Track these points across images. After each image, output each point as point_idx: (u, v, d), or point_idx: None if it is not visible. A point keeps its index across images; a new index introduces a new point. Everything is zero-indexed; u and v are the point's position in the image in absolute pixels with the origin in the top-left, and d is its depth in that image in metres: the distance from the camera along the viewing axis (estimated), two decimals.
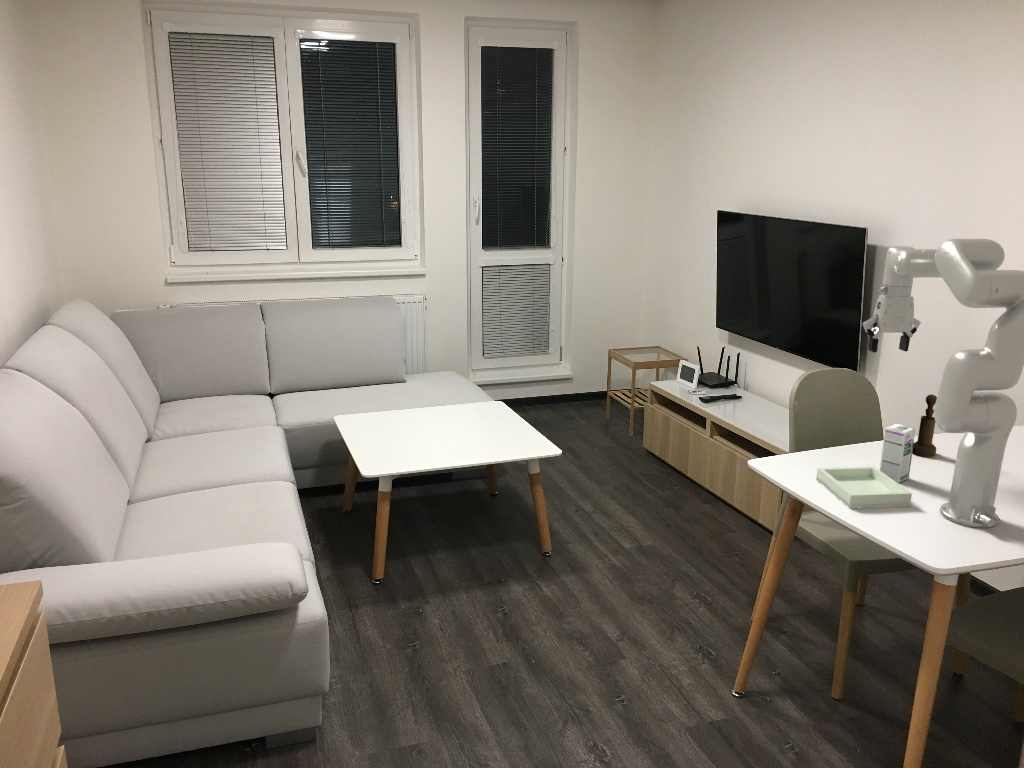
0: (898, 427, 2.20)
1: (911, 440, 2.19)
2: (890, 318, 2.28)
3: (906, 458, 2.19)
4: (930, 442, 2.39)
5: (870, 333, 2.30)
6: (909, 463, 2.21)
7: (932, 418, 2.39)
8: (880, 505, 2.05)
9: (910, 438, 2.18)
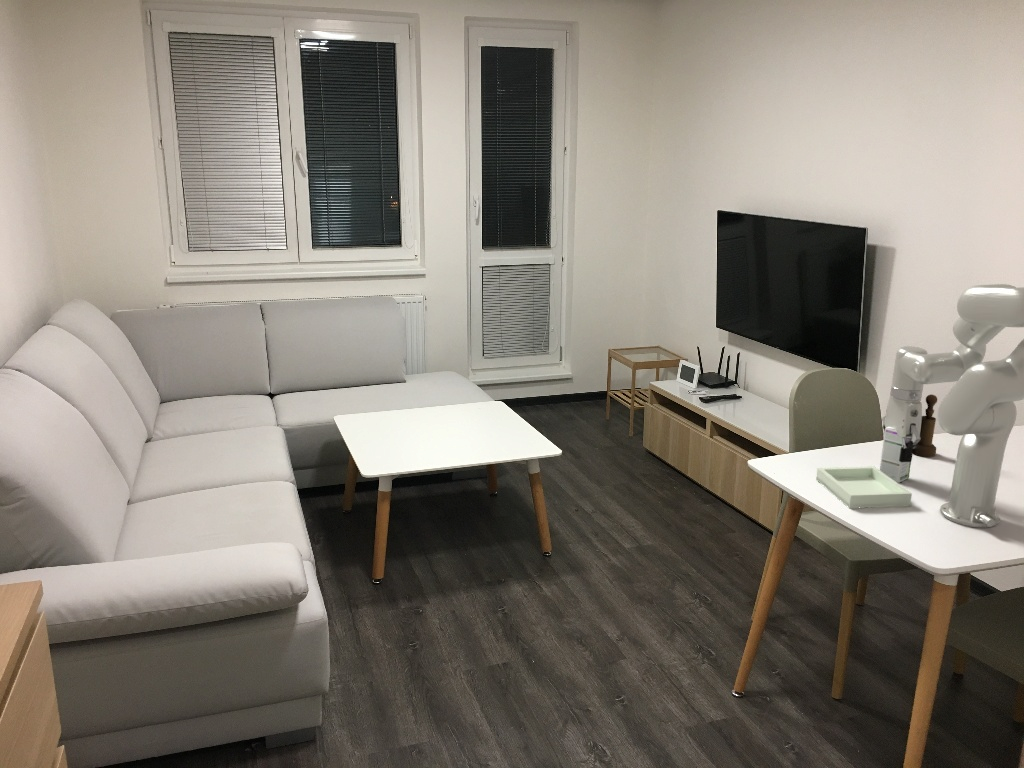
0: None
1: None
2: None
3: None
4: (930, 442, 2.39)
5: None
6: (909, 463, 2.21)
7: (932, 418, 2.39)
8: (880, 505, 2.05)
9: None
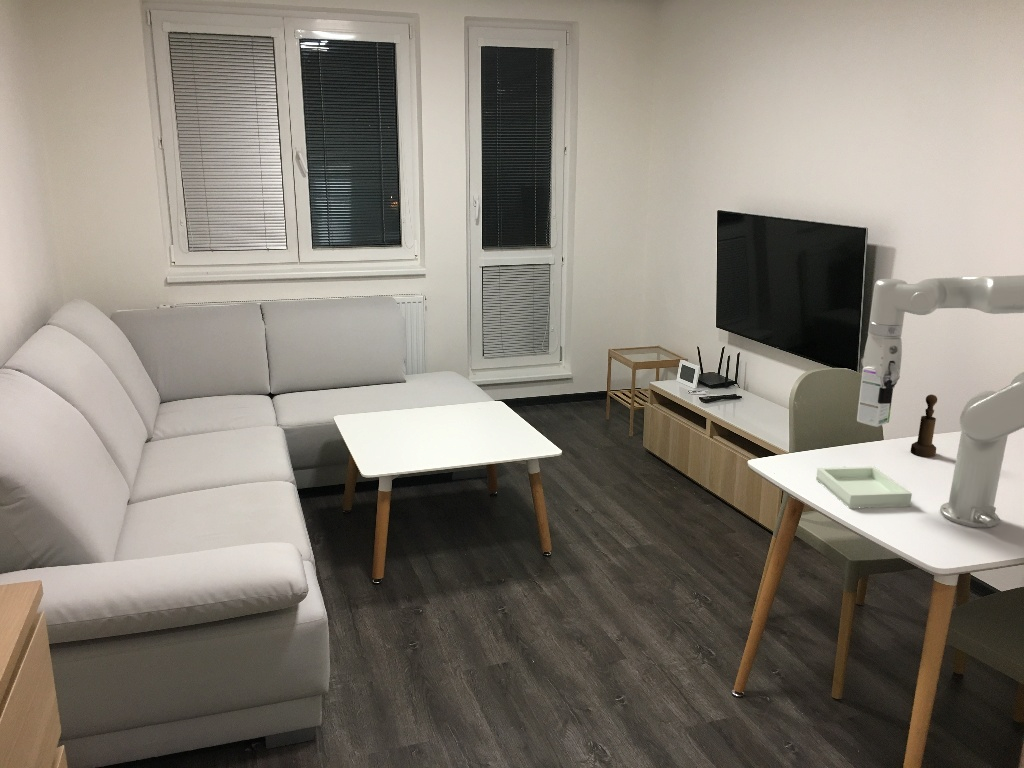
0: None
1: None
2: None
3: None
4: (930, 442, 2.39)
5: None
6: (889, 406, 2.06)
7: (932, 418, 2.39)
8: (880, 505, 2.05)
9: None
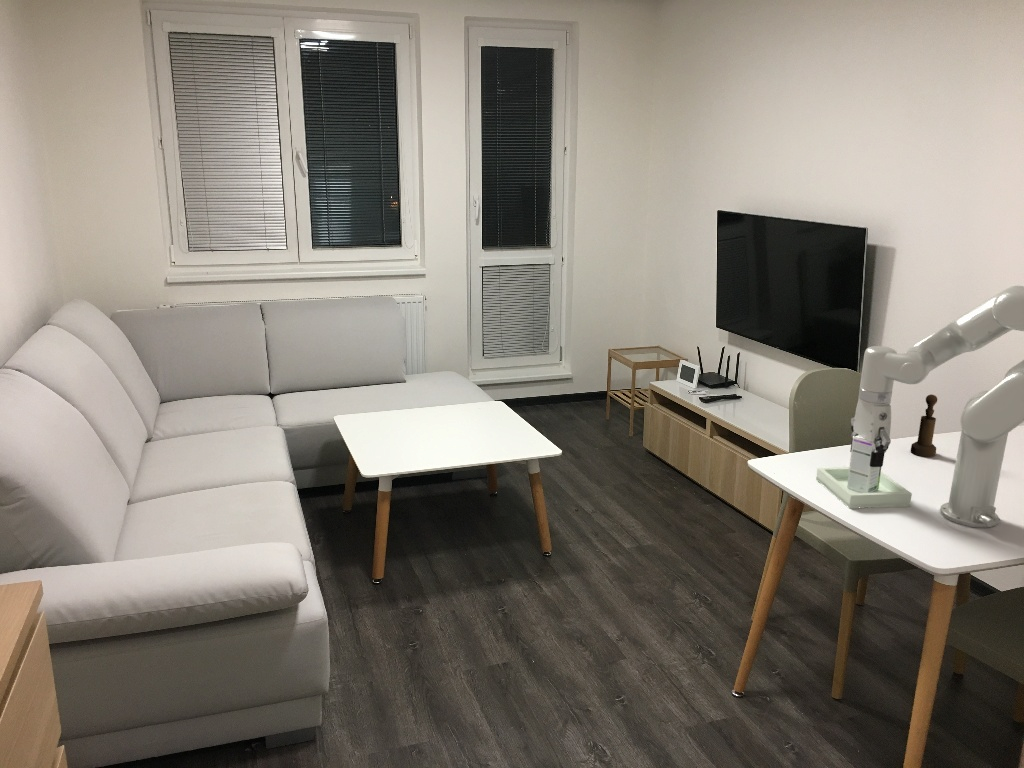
0: None
1: None
2: None
3: (874, 469, 2.09)
4: (930, 442, 2.39)
5: None
6: (878, 474, 2.11)
7: (932, 418, 2.39)
8: (880, 505, 2.05)
9: None
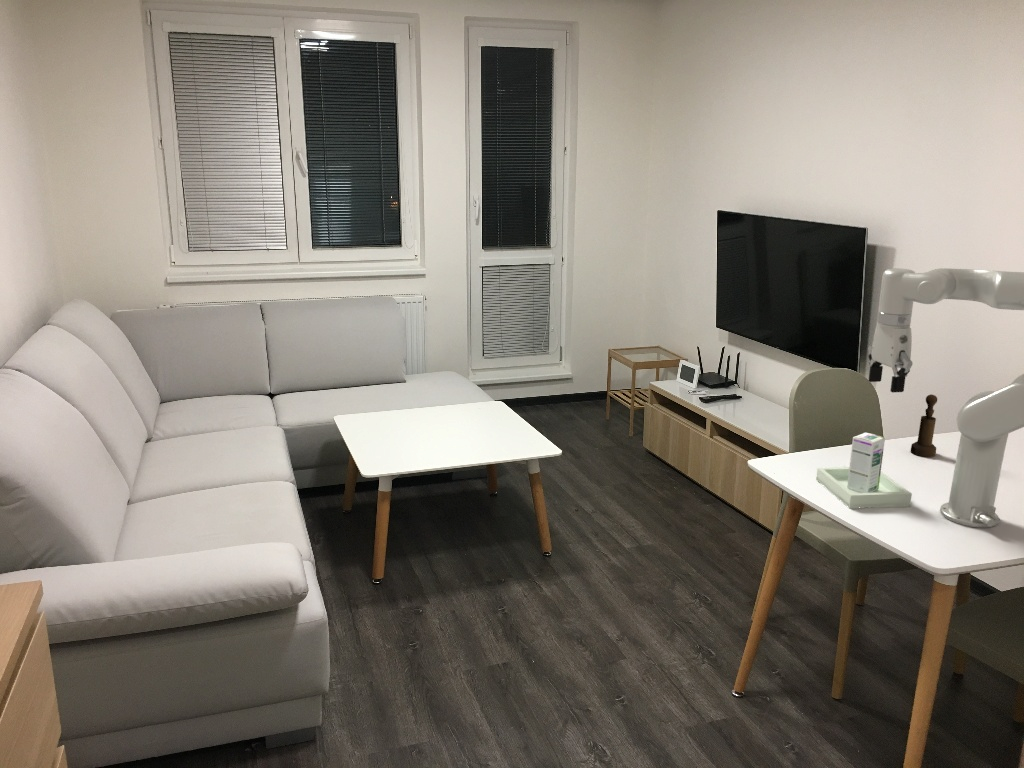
0: (866, 436, 2.09)
1: (880, 450, 2.09)
2: None
3: (874, 469, 2.09)
4: (930, 442, 2.39)
5: None
6: (878, 474, 2.11)
7: (932, 418, 2.39)
8: (880, 505, 2.05)
9: (879, 448, 2.08)
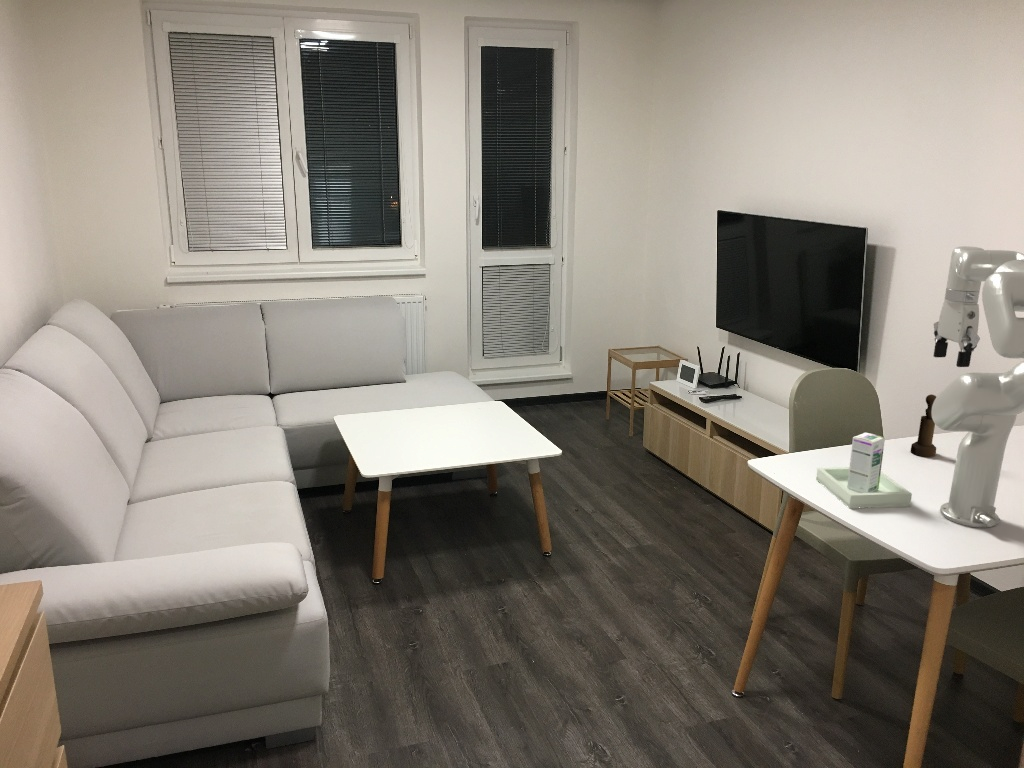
0: (866, 436, 2.09)
1: (880, 450, 2.09)
2: None
3: (874, 469, 2.09)
4: (930, 442, 2.39)
5: None
6: (878, 474, 2.11)
7: None
8: (880, 505, 2.05)
9: (879, 448, 2.08)
